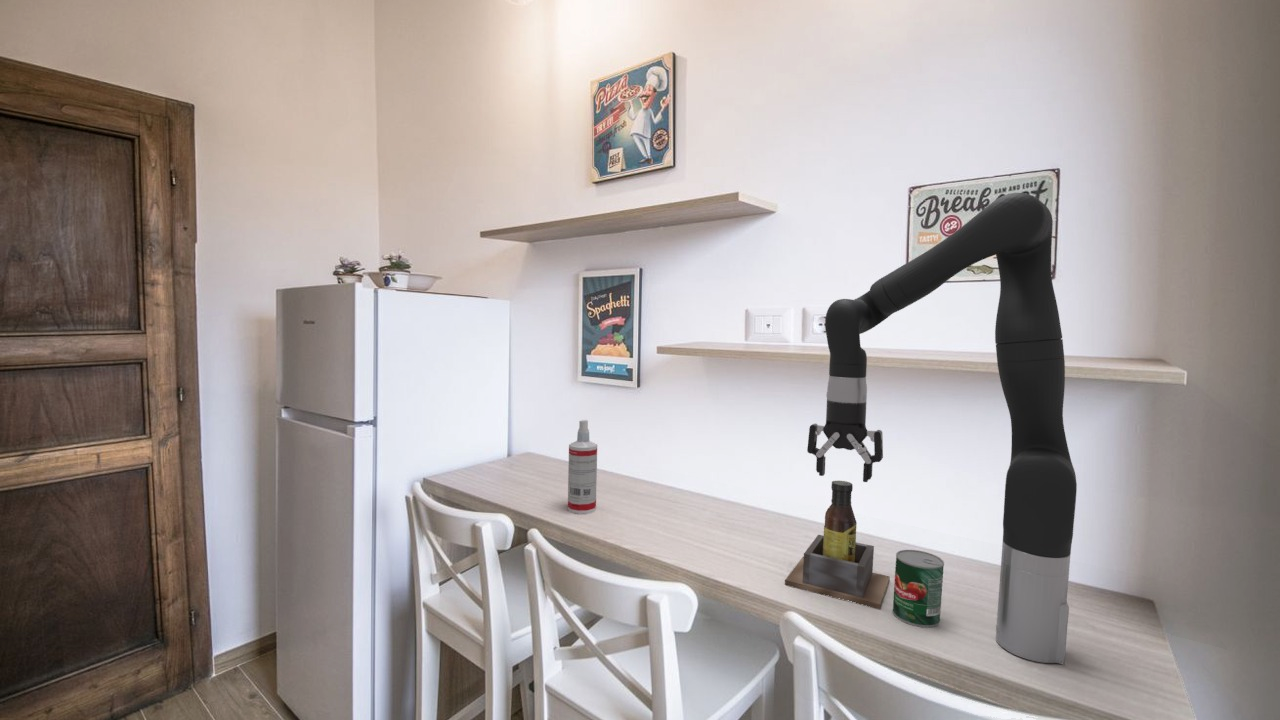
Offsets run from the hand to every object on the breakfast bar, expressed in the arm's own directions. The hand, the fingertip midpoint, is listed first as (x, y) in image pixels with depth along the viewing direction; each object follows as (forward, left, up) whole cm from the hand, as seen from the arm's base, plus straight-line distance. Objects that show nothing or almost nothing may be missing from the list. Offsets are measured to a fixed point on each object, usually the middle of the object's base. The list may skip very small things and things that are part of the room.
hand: (843, 478), depth 116 cm
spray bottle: (+70, -7, -22) cm, 74 cm away
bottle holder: (0, 0, -22) cm, 22 cm away
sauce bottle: (0, 0, -21) cm, 21 cm away
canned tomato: (-15, +6, -22) cm, 27 cm away
